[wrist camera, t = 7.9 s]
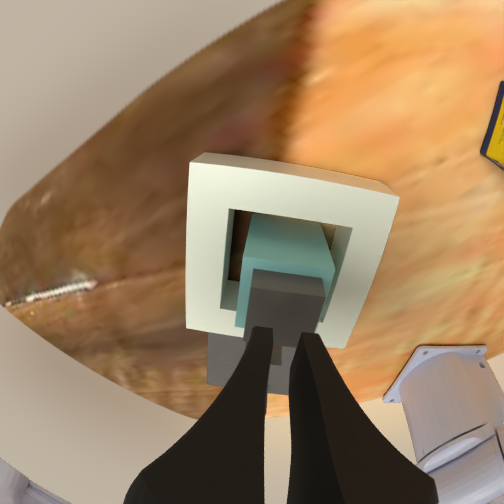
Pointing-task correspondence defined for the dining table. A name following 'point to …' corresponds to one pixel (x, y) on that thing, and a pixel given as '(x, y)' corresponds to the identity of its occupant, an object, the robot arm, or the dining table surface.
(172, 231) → the dining table surface
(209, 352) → the grey socket plate
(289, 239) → the plug
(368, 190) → the port
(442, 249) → the dining table surface
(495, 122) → the supplement box
